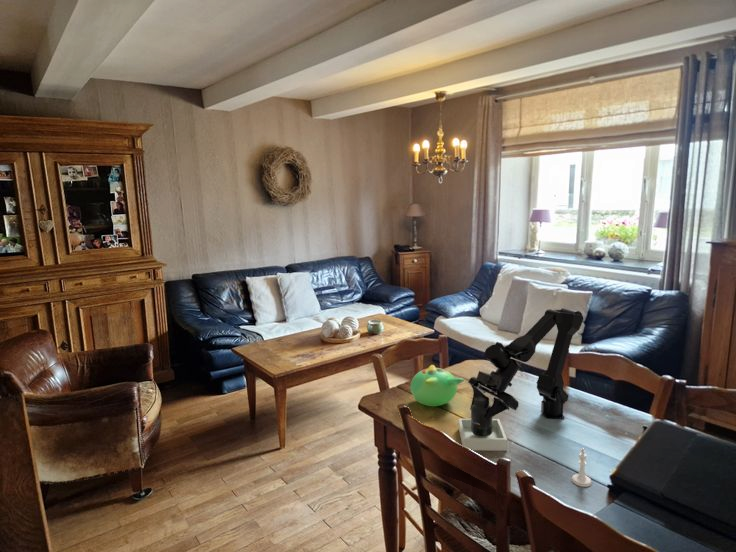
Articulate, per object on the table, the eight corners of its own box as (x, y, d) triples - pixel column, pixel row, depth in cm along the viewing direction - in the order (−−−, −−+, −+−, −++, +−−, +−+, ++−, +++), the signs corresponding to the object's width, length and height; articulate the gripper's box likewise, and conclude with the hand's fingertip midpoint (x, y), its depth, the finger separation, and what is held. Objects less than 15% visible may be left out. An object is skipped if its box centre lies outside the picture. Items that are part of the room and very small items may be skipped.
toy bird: (444, 391, 191) (444, 357, 188) (466, 408, 175) (466, 371, 173) (404, 399, 185) (403, 364, 182) (423, 417, 169) (423, 379, 167)
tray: (498, 429, 159) (499, 418, 159) (507, 450, 146) (507, 439, 145) (458, 428, 160) (458, 418, 160) (463, 450, 147) (463, 439, 146)
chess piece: (585, 475, 132) (587, 443, 130) (594, 486, 127) (596, 452, 125) (568, 476, 132) (570, 444, 130) (577, 487, 127) (578, 453, 125)
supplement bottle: (470, 436, 151) (470, 402, 149) (471, 426, 157) (470, 393, 155) (492, 438, 149) (492, 403, 147) (492, 428, 156) (492, 394, 154)
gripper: (472, 354, 159) (446, 392, 156) (512, 371, 143) (484, 414, 140) (489, 371, 164) (465, 408, 161) (530, 389, 148) (504, 431, 145)
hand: (478, 414), depth 151 cm, fingers closed on supplement bottle, 7 cm apart
